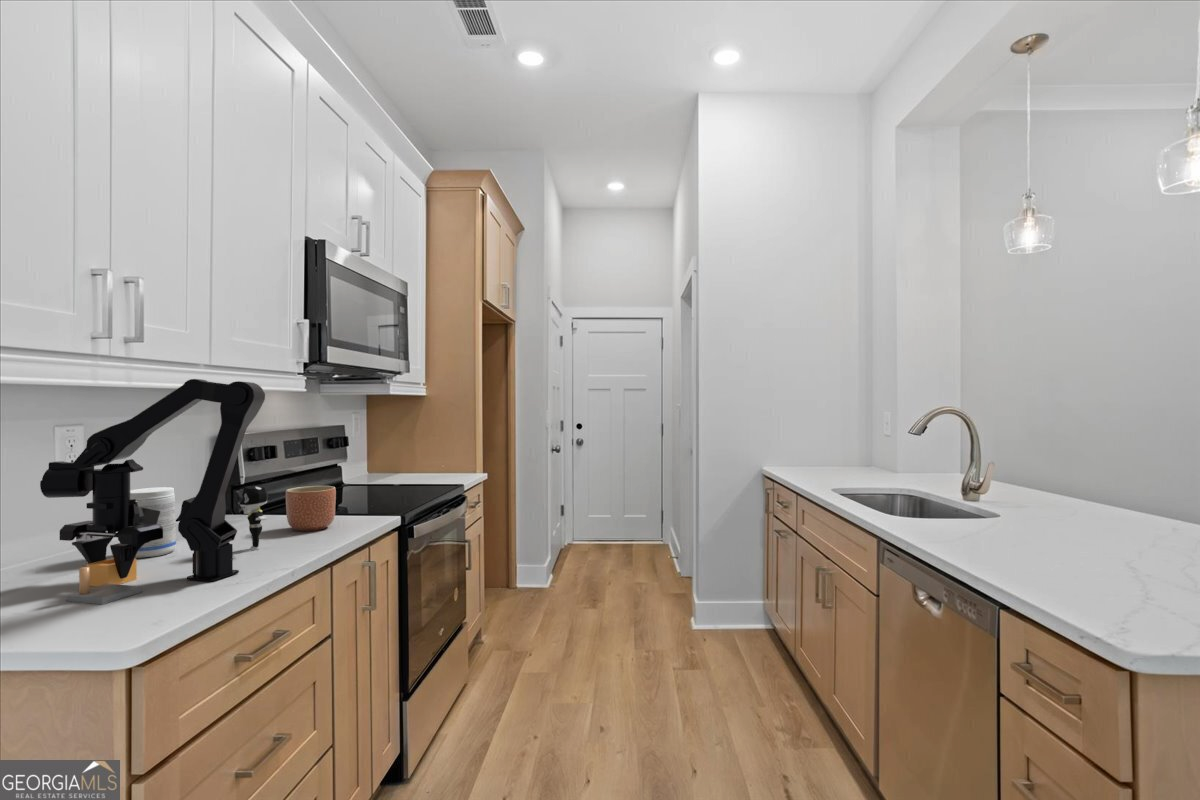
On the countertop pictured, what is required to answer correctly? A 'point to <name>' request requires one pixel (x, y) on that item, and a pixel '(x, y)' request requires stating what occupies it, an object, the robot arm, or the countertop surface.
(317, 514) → the planter
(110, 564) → the open tan tray box
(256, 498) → the toy
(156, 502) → the supplement tub
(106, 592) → the grey base with peg
